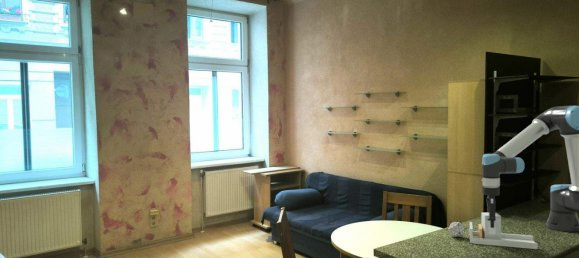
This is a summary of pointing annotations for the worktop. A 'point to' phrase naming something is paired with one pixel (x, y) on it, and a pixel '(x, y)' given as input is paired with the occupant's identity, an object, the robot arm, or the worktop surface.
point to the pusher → (480, 231)
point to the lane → (504, 240)
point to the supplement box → (486, 227)
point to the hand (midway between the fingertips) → (491, 230)
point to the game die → (456, 229)
